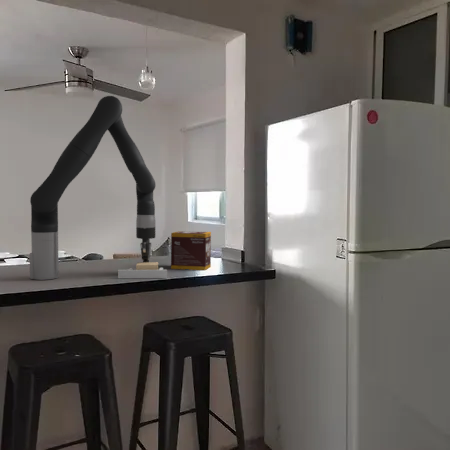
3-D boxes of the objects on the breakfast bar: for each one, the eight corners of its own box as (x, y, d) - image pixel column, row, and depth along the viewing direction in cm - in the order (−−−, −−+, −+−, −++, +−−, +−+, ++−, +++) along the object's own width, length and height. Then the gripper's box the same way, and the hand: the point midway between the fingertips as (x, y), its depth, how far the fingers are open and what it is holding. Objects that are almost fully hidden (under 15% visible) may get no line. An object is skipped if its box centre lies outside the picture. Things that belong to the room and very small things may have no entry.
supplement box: (205, 270, 187) (205, 233, 186) (170, 269, 190) (170, 232, 190) (211, 266, 197) (211, 231, 197) (178, 265, 201) (178, 230, 200)
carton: (136, 278, 169) (136, 265, 168) (137, 275, 176) (137, 262, 176) (157, 278, 170) (157, 264, 169) (158, 274, 177) (158, 262, 177)
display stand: (118, 278, 167) (118, 270, 167) (123, 272, 180) (123, 265, 180) (166, 278, 168) (166, 270, 168) (168, 272, 181) (168, 265, 181)
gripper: (138, 225, 184) (138, 267, 185) (134, 227, 171) (134, 272, 172) (156, 225, 185) (156, 267, 186) (153, 227, 171) (154, 272, 172)
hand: (146, 269), depth 179 cm, fingers closed
